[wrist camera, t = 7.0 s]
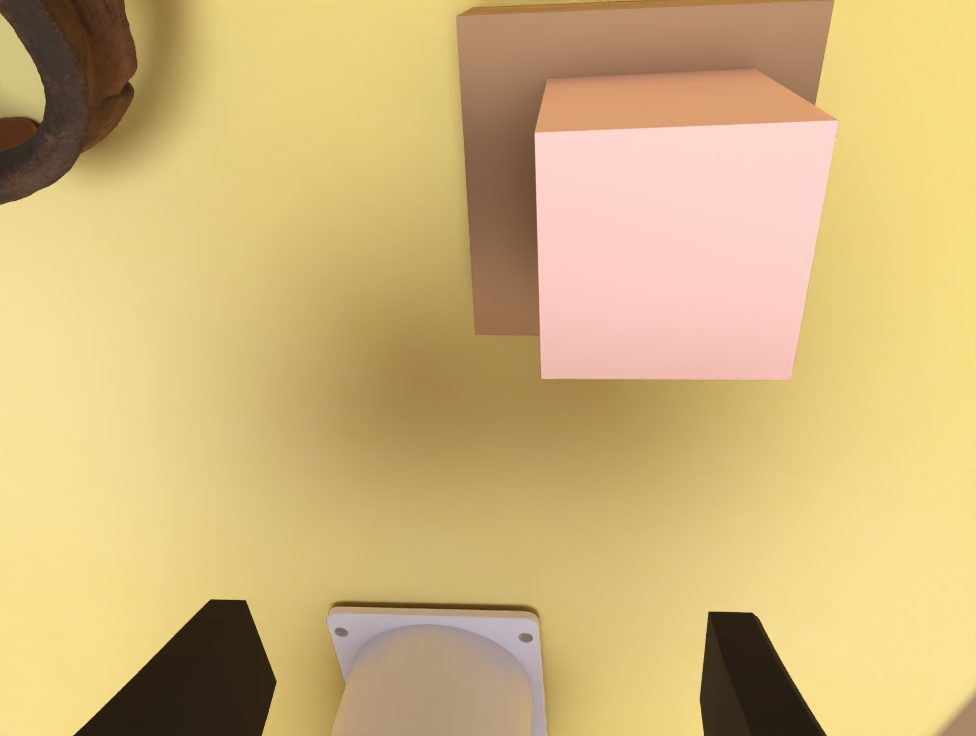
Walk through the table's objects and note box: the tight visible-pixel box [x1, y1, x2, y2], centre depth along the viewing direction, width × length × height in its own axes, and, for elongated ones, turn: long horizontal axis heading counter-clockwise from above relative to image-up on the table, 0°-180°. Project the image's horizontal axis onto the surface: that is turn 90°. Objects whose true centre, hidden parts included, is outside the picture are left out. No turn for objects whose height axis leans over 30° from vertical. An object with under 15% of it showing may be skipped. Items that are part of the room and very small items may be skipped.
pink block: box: [535, 69, 839, 380], centre depth 13 cm, size 4×4×5 cm
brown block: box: [456, 0, 834, 335], centre depth 16 cm, size 7×7×3 cm
